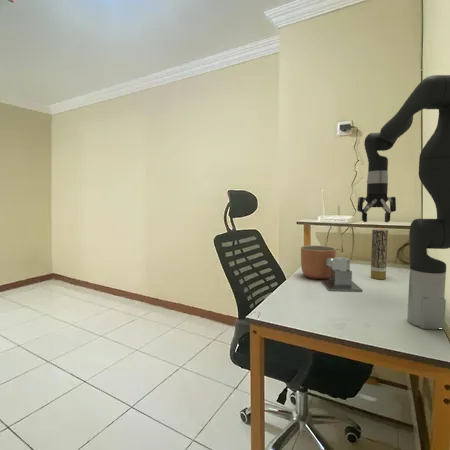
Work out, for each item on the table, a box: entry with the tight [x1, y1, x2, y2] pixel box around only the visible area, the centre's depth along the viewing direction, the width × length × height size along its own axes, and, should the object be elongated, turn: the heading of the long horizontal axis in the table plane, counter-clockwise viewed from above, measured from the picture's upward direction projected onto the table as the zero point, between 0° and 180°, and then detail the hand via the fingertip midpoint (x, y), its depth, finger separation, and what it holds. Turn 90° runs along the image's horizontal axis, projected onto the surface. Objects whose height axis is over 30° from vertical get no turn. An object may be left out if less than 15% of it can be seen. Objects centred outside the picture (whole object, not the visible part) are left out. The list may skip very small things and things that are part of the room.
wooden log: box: [370, 227, 389, 280], centre depth 143 cm, size 7×7×25 cm
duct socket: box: [320, 268, 363, 293], centre depth 129 cm, size 14×14×8 cm
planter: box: [300, 244, 337, 280], centre depth 145 cm, size 17×17×15 cm
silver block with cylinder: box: [326, 256, 351, 272], centre depth 130 cm, size 9×6×11 cm, turn 53°
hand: (375, 222), depth 118 cm, fingers open, 8 cm apart
